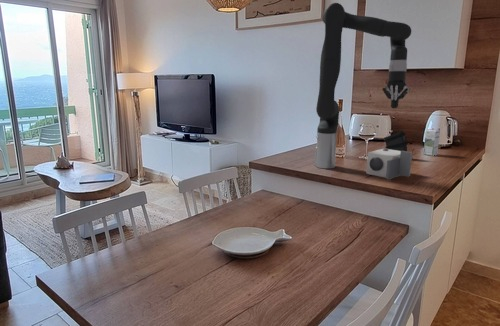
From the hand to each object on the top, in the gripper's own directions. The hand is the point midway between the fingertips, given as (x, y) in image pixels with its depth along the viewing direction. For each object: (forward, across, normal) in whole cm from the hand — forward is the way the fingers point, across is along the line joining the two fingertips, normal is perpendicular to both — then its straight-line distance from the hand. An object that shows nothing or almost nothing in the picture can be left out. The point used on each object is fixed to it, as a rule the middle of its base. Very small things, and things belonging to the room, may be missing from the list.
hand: (394, 108), depth 164 cm
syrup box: (+29, 0, +46) cm, 54 cm away
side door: (+28, +14, -19) cm, 37 cm away
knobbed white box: (+29, +5, -12) cm, 32 cm away
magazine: (+29, -10, +24) cm, 39 cm away
